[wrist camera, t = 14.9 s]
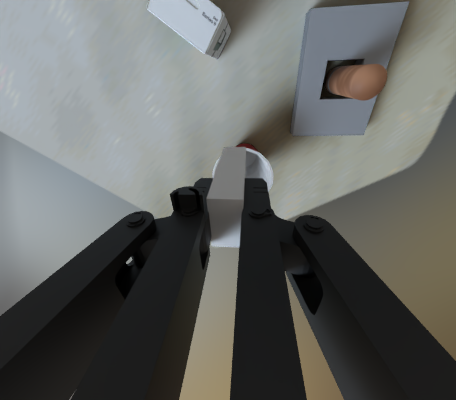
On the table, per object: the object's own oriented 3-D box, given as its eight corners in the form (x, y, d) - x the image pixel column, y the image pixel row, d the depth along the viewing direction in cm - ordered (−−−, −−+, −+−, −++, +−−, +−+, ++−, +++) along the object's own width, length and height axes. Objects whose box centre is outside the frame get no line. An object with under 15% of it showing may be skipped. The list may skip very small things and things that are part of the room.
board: (306, 13, 30) (311, 8, 28) (395, 7, 29) (409, 1, 27) (290, 131, 40) (292, 135, 38) (356, 131, 39) (363, 135, 36)
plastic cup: (235, 120, 40) (231, 136, 30) (278, 147, 42) (287, 170, 32) (212, 162, 45) (201, 187, 35) (250, 184, 48) (250, 213, 38)
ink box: (174, 27, 33) (142, 8, 23) (186, -9, 30) (156, -48, 20) (217, 61, 35) (205, 56, 25) (232, 30, 32) (225, 11, 22)
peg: (325, 66, 34) (357, 64, 24) (349, 65, 33) (393, 62, 23) (319, 93, 36) (347, 101, 26) (342, 92, 36) (379, 100, 26)
